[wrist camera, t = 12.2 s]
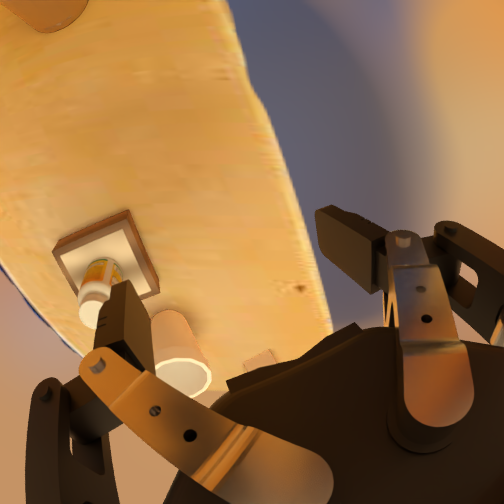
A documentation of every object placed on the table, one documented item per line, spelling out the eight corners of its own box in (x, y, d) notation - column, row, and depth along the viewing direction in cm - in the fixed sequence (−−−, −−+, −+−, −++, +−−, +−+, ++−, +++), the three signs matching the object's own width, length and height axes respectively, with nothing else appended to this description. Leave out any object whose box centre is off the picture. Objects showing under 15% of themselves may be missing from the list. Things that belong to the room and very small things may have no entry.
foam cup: (196, 341, 51) (212, 395, 40) (146, 347, 48) (152, 403, 37) (193, 299, 47) (210, 353, 36) (138, 304, 44) (140, 361, 33)
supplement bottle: (129, 266, 37) (126, 307, 29) (114, 296, 38) (110, 340, 30) (94, 249, 34) (80, 287, 26) (81, 281, 35) (68, 323, 27)
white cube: (243, 362, 58) (252, 382, 53) (268, 348, 58) (279, 368, 53) (253, 376, 61) (262, 395, 56) (276, 363, 61) (287, 382, 56)
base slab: (59, 240, 36) (51, 252, 32) (128, 209, 38) (126, 219, 34) (93, 304, 41) (90, 319, 38) (158, 279, 44) (160, 293, 40)
